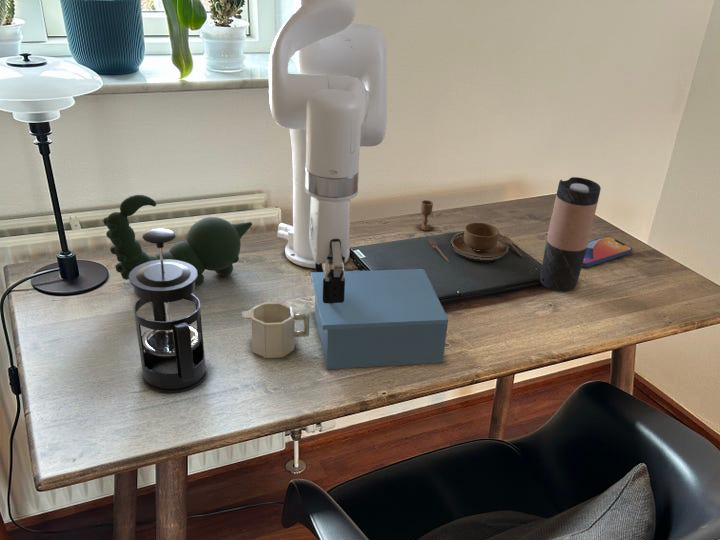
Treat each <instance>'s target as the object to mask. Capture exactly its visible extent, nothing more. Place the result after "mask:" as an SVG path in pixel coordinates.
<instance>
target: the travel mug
mask: <svg viewBox="0 0 720 540" xmlns="http://www.w3.org/2000/svg"><path fill="white" fill-rule="evenodd" d="M601 189H602V188H601V185H600V184H598V183H597V182H595V181H594V180H591V179H588V178H584V177H577V176H571V177H570V178H569V179H567V180H563V179H560V180H559V181H558V186H557V190H556V195H555V200H554V204H553V209H552V214H551V217H550V223H549V227H548V232H547V236H546V241H545V246H544V247H545V248H544V252H543V258H542V263H541V270H540V276H539V281H540V284H541V285H542V286H544V287H545V288H547V289H549V290H552V291H556V292H570V291H572V290H574V289H576V287H577V284H578V281H579V278H580V275H581V271H582V268H583V267H582V264H583V260H584V257H585V253H586V250H587V246H588V242H589V241H590V237H591V233H592V230H593V229H592V228H593V224H594V221H595V215H596V211H597V206H598V203H599V199H600V194H601ZM541 274H542V276H543V278H544V281H543V280H542V278H541Z"/></svg>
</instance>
